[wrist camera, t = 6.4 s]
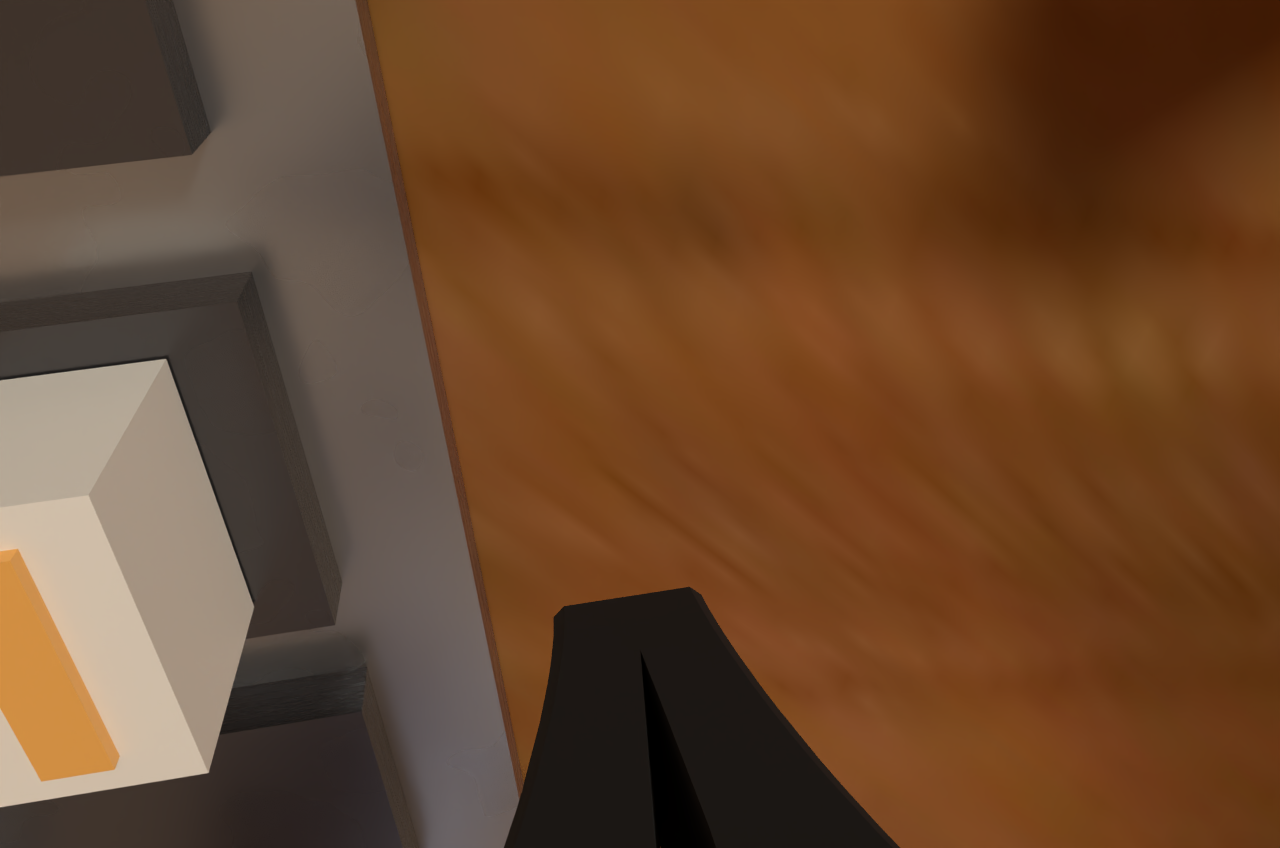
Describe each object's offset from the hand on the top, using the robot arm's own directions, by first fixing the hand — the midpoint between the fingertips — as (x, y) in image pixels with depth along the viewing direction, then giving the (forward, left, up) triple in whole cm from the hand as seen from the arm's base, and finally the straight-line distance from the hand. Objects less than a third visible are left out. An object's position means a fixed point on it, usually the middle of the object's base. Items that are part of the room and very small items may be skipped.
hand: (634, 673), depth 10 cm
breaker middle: (0, +6, -5) cm, 8 cm away
